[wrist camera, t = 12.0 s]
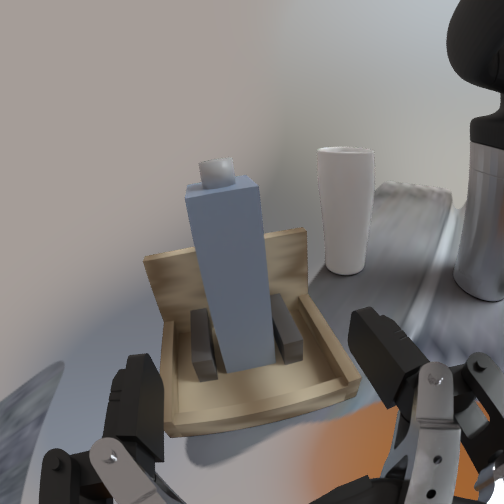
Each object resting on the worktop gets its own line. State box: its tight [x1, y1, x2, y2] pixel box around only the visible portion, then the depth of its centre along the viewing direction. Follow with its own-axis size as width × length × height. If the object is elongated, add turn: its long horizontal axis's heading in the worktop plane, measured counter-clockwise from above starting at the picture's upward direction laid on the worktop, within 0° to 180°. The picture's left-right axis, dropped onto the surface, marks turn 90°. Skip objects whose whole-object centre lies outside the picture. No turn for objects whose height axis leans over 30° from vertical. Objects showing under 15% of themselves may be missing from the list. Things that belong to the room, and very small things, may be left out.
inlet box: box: [143, 227, 362, 438], centre depth 20 cm, size 14×12×9 cm
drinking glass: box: [317, 147, 375, 275], centre depth 31 cm, size 7×7×15 cm
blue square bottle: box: [185, 158, 276, 373], centre depth 19 cm, size 4×4×16 cm
